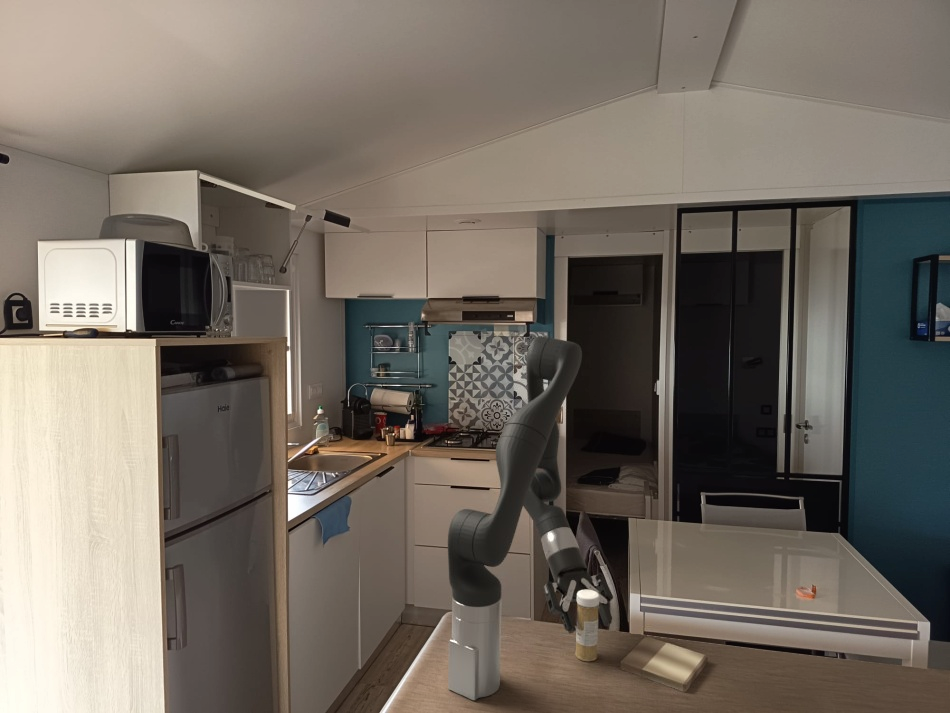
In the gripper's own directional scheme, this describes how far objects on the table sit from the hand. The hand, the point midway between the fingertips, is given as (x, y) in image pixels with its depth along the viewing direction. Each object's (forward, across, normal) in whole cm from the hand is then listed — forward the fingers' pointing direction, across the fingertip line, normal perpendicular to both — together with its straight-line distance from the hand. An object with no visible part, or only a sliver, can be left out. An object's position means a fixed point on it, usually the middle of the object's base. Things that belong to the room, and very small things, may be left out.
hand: (590, 628), depth 133 cm
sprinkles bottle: (+4, 0, +6) cm, 7 cm away
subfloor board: (+10, +13, -1) cm, 16 cm away
